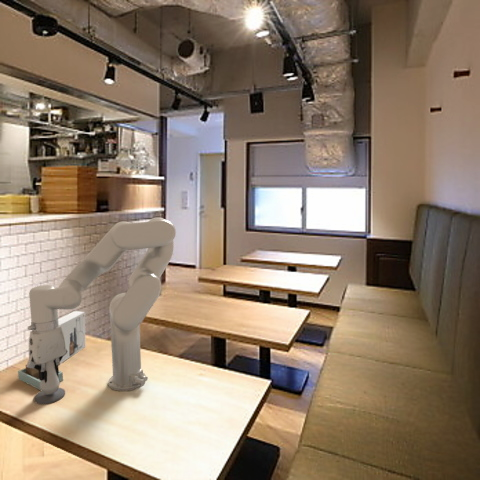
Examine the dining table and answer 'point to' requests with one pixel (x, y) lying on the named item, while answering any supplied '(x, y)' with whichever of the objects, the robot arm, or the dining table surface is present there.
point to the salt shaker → (50, 379)
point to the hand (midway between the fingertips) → (49, 378)
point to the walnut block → (32, 372)
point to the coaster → (49, 397)
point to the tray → (32, 380)
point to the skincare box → (73, 333)
